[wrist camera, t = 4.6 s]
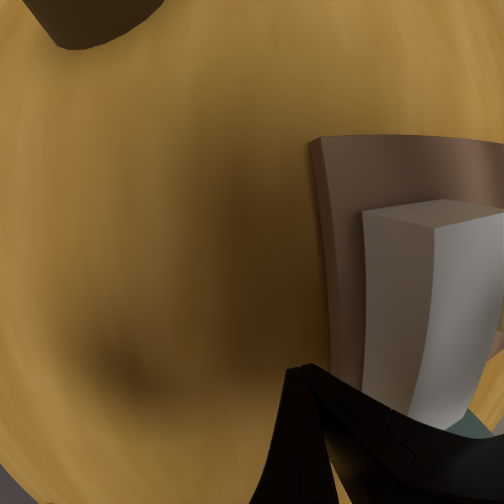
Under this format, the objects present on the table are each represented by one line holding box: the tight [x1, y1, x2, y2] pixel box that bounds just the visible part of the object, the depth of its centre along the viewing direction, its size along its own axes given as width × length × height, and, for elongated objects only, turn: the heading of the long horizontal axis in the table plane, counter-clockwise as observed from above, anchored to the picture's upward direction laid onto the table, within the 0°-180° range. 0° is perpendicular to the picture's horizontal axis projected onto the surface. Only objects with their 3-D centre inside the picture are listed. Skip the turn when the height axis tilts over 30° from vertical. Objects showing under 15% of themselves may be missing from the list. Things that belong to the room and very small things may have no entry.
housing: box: [361, 199, 504, 430], centre depth 8 cm, size 4×9×4 cm, turn 10°
